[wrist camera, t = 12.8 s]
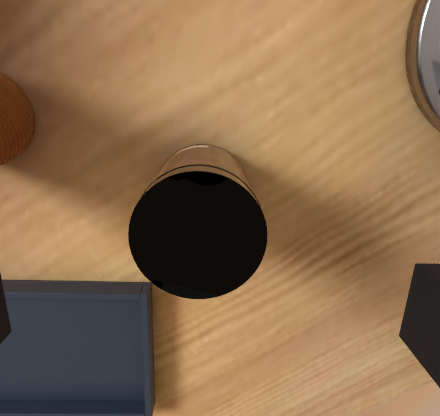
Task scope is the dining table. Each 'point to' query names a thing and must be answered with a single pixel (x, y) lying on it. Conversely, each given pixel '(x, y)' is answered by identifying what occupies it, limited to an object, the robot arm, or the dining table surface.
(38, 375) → the tray
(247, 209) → the supplement container
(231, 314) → the dining table surface
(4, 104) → the disposable coffee cup
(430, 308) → the robot arm
